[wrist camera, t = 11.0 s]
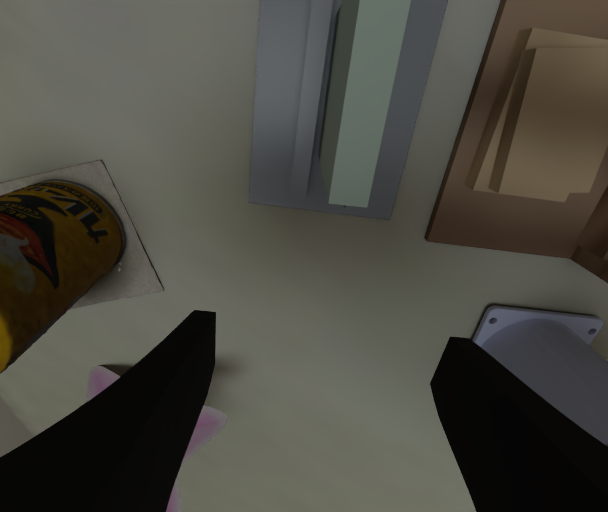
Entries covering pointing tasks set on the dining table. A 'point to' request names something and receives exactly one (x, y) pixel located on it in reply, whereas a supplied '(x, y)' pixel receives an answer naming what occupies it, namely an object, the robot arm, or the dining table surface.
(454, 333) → the dining table surface
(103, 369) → the lily
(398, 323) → the dining table surface
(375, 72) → the sheet
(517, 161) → the offcut upper
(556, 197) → the offcut lower
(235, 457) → the dining table surface
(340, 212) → the stand
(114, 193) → the condiment
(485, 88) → the rack
